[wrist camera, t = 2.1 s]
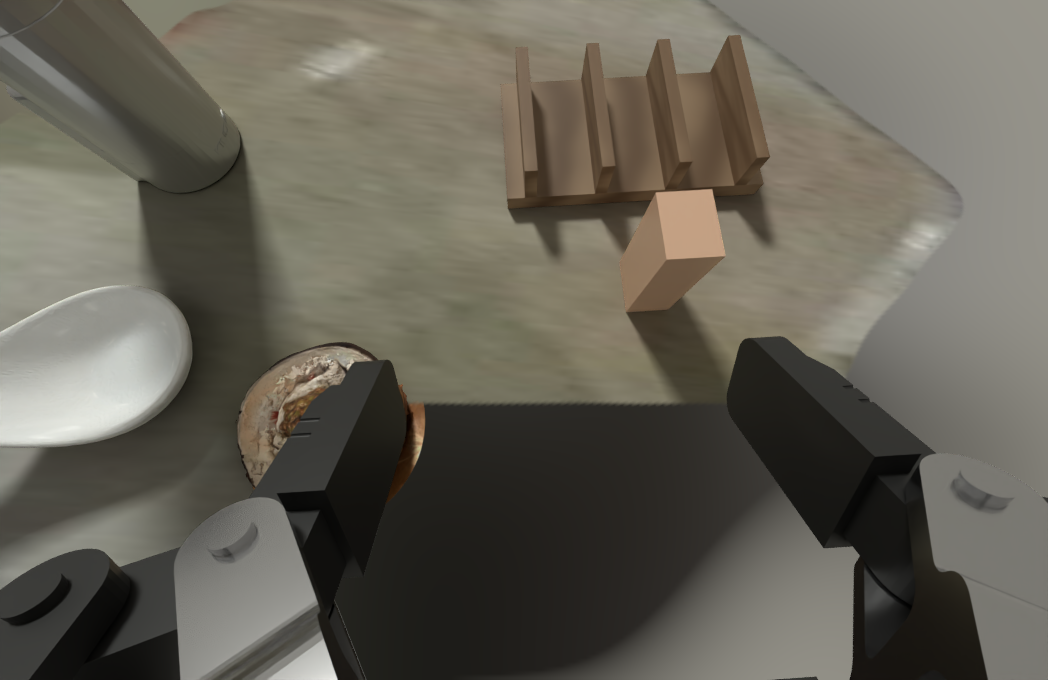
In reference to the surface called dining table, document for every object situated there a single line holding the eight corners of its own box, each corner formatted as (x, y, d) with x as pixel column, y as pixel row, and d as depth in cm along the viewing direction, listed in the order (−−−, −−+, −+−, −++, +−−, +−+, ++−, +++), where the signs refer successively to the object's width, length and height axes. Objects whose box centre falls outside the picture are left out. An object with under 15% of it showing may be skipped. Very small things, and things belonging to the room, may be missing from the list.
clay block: (625, 312, 34) (666, 259, 24) (619, 262, 35) (655, 192, 25) (667, 309, 34) (725, 255, 24) (660, 259, 35) (712, 189, 25)
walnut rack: (508, 208, 36) (505, 172, 31) (501, 97, 39) (497, 48, 34) (753, 194, 36) (789, 155, 31) (728, 84, 39) (757, 33, 34)
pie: (231, 354, 33) (191, 342, 29) (411, 318, 34) (396, 302, 30) (237, 547, 30) (192, 563, 26) (438, 502, 30) (425, 511, 26)
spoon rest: (195, 277, 35) (112, 236, 28) (239, 398, 32) (159, 386, 25) (-93, 409, 32) (-264, 400, 25) (-71, 552, 30) (-254, 585, 23)
